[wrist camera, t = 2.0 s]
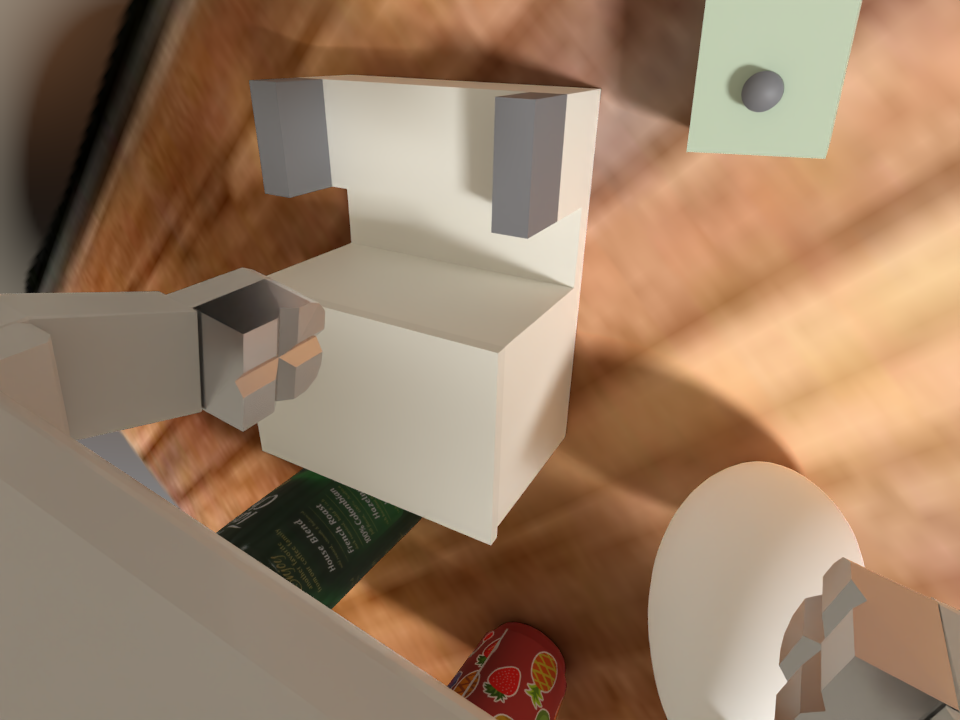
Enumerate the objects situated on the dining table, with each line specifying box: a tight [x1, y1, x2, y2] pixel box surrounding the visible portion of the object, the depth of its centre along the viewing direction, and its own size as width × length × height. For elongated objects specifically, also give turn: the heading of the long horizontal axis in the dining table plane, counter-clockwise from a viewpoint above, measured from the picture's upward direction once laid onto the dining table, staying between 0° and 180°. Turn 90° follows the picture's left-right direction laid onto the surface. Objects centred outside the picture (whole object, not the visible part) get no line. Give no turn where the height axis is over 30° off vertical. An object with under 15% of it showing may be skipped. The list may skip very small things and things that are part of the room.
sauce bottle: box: [648, 461, 865, 720], centre depth 24 cm, size 8×8×18 cm
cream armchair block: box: [249, 75, 601, 545], centre depth 30 cm, size 14×19×10 cm
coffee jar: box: [216, 468, 422, 609], centre depth 38 cm, size 10×8×19 cm
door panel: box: [687, 0, 862, 159], centre depth 21 cm, size 9×4×6 cm, turn 1°
